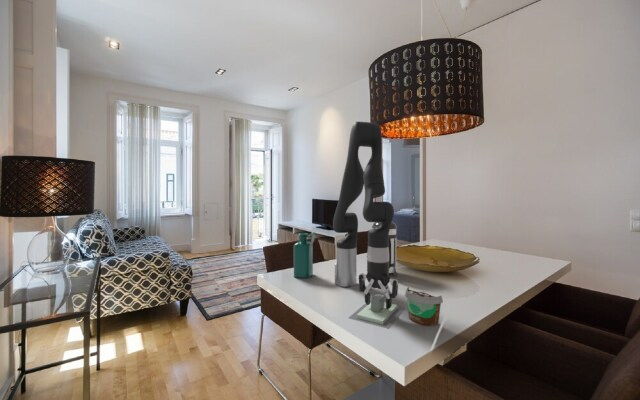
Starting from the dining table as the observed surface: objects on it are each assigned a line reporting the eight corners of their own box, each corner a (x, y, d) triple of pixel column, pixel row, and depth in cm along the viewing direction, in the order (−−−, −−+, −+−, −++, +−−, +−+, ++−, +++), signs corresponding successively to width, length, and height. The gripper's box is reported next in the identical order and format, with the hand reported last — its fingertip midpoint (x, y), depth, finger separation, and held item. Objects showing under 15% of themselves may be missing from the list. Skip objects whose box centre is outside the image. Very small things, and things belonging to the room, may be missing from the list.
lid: (356, 318, 94) (356, 301, 94) (373, 302, 107) (373, 288, 106) (382, 324, 89) (382, 307, 89) (397, 308, 102) (397, 292, 102)
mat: (348, 319, 94) (348, 317, 94) (369, 301, 109) (369, 300, 109) (388, 330, 87) (388, 328, 87) (405, 309, 102) (405, 308, 102)
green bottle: (292, 277, 140) (292, 233, 140) (298, 272, 148) (298, 231, 148) (310, 279, 138) (310, 234, 137) (316, 274, 146) (316, 232, 145)
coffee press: (362, 273, 147) (362, 216, 146) (381, 267, 158) (381, 214, 157) (390, 281, 134) (390, 218, 133) (408, 274, 144) (409, 216, 143)
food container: (397, 320, 93) (398, 290, 93) (407, 314, 98) (407, 286, 97) (434, 333, 85) (434, 301, 84) (442, 326, 89) (443, 295, 89)
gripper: (401, 259, 97) (401, 307, 97) (363, 254, 104) (363, 298, 105) (395, 264, 90) (394, 315, 91) (354, 258, 98) (354, 305, 98)
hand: (377, 306), depth 98 cm, fingers open, 6 cm apart
